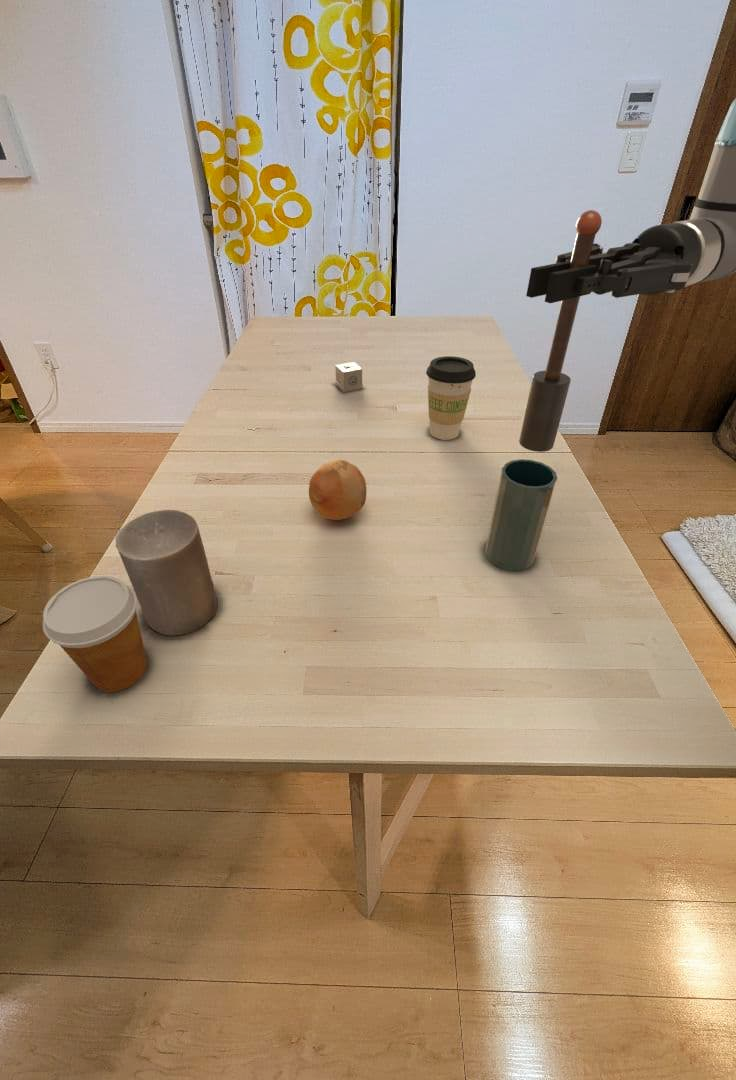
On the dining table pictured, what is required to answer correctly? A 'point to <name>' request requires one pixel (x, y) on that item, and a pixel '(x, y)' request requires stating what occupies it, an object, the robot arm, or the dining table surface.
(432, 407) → the coffee cup
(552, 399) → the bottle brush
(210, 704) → the dining table surface
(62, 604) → the disposable coffee cup
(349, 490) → the onion
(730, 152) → the robot arm
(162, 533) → the pillar candle
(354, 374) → the dice cube
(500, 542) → the green cylindrical holder
